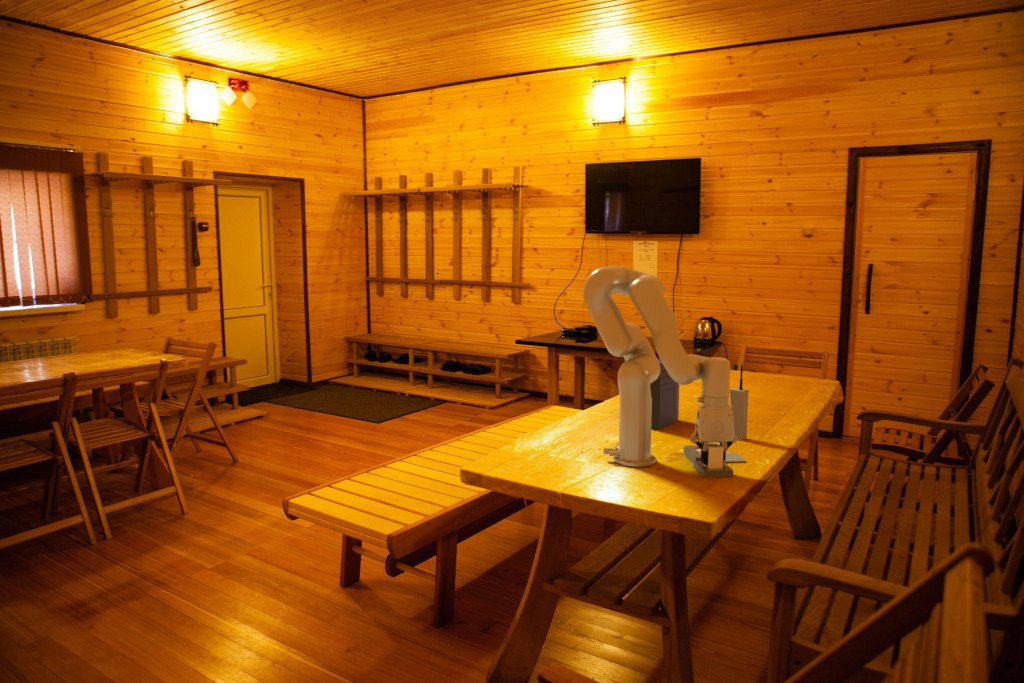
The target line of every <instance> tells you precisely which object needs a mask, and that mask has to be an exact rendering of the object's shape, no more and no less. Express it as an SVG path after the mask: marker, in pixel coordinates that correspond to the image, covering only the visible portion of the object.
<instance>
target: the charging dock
mask: <svg viewBox="0 0 1024 683" xmlns="http://www.w3.org/2000/svg"><path fill="white" fill-rule="evenodd" d="M684 455H685V456H686V457H687V458H688V459H689V460H690V461H691V462H692V463H693V464H692V463H691V462H690V461H689V460H688V459H687V458H686V457H685V456H684ZM683 456H684V457H685V458H686V459H687V460H688V461H689V462H690V463H691V464H692V466H693V469H695V471H696V470H697V471H698V472H699V473H700V474H701V475H702V476H703V477H720V478H734V469H733V468H732V467H730V466H729V465H728V463H724V465H723V469H707V468H706V467H705V466H704V465H703V462H702V461H701V449H700V448H699V447H698V446H697V445H696V444H694V445H684V446H683ZM698 472H697V473H698ZM699 473H698V474H699ZM700 474H699V475H700ZM701 475H700V476H701ZM702 476H701V477H702Z"/></svg>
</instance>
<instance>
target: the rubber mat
mask: <svg viewBox="0 0 1024 683" xmlns="http://www.w3.org/2000/svg"><path fill="white" fill-rule="evenodd" d="M724 462H735V464H739V462H740V463H741V464H742V463H743V462H744V463H747V460H746V459H745V458H743V456H741V455H740V454H739V453H738V452H726V460H725V461H724Z"/></svg>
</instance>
